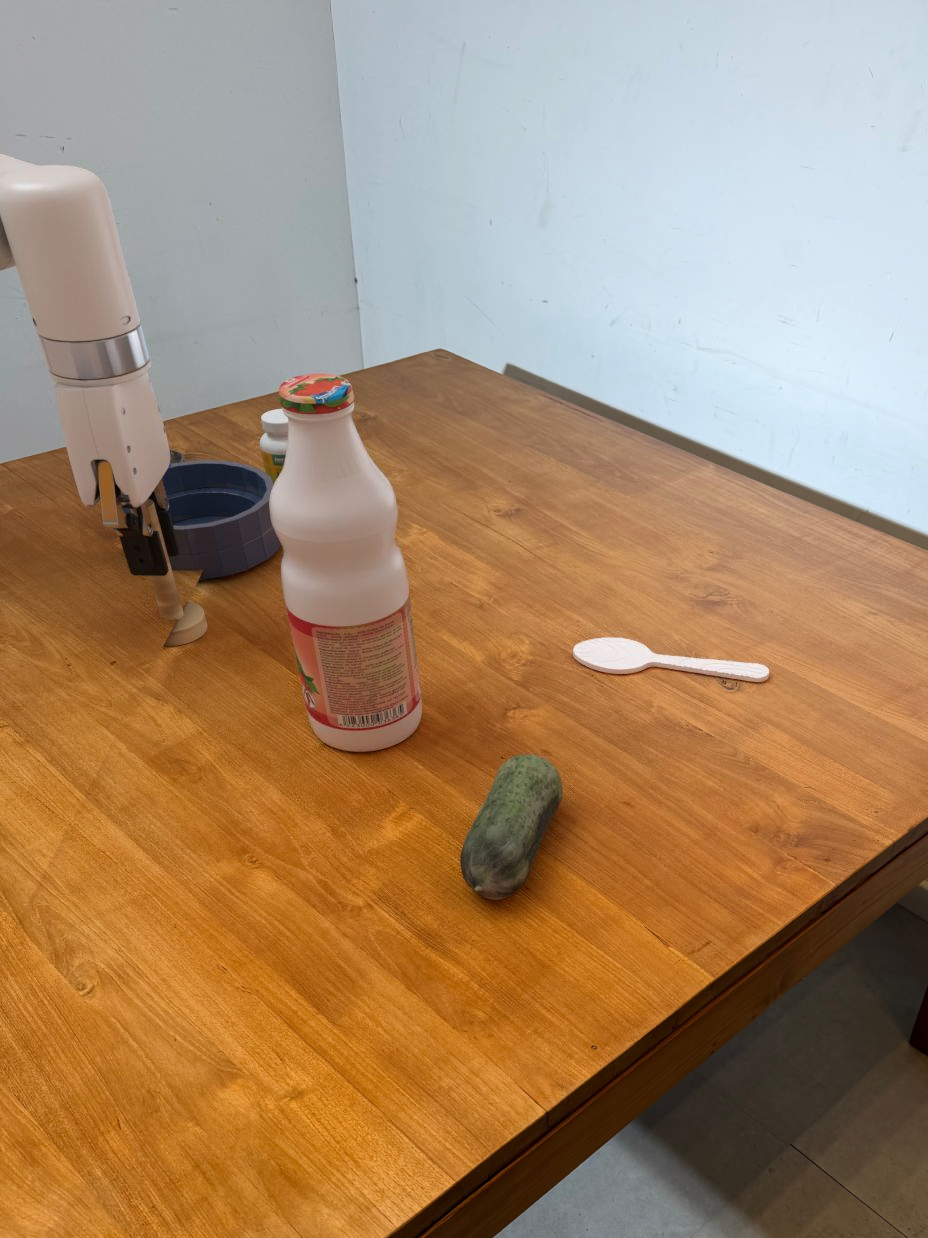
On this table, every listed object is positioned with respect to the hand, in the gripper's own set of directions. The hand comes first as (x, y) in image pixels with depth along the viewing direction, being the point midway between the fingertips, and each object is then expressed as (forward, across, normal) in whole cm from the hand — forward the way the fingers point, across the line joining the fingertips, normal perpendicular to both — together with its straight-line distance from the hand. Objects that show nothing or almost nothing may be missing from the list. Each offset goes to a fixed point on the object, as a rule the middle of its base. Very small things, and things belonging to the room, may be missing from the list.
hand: (155, 562), depth 100 cm
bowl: (+7, -16, -1) cm, 17 cm away
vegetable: (+7, +30, +33) cm, 45 cm away
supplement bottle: (+7, -27, +6) cm, 29 cm away
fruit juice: (+7, +14, +20) cm, 25 cm away
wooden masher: (+7, 0, 0) cm, 7 cm away
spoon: (+7, +5, +46) cm, 47 cm away
